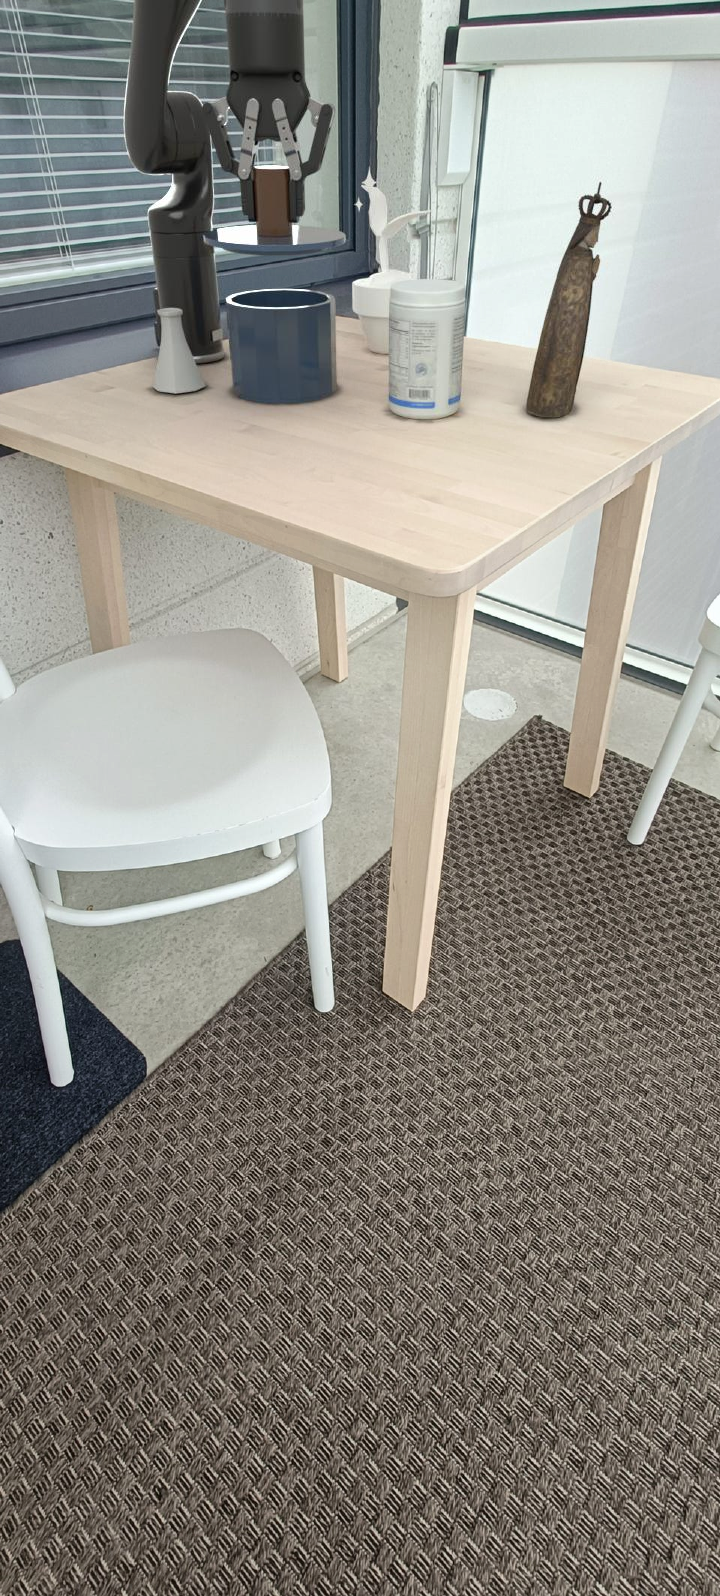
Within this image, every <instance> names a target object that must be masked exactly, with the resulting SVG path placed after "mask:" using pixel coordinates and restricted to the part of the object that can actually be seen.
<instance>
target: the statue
mask: <svg viewBox="0 0 720 1596" xmlns="http://www.w3.org/2000/svg"><path fill="white" fill-rule="evenodd" d="M601 187H602V182H601V181H600V182H599V183H598V187H597V191H596V193H594V194H593V195H591V194H584V195H583V196H581V197H580V199H579V200H578V204H577V206H578V211H579V215H580V218H579V220H578V223H577V226H576V227H575V230H574V232H573V234H572V236H571V238H570V239H569V243H568V245H567V247H566V249H565V252H564V254H563V256H562V259H561V262H560V264H559V267H558V271H557V273H556V278H555V281H554V284H553V287H552V291H551V295H550V298H549V302H548V306H547V309H546V313H545V316H544V320H543V323H542V324H543V325H542V329H541V332H540V337H539V340H538V341H539V342H538V346H537V351H536V353H535V359H534V363H533V367H532V368H533V369H532V373H531V378H530V382H529V387H528V393H527V398H526V402H525V403H526V404H525V407H526V409H525V410H526V411H527V412H528V413H530V414H531V415H533V416H537V417H540V418H549V419H550V418H551V419H552V418H553V419H554V418H562V417H563V416H564V417H565V416H567V415H569V413H572V410H573V406H574V404H575V396H576V393H577V386H578V384H579V383H578V382H579V379H580V374H581V370H582V366H583V360H584V355H585V350H586V343H587V336H588V330H589V322H590V317H591V306H592V296H593V285H594V281H595V279H596V278H597V273H598V272H599V268H600V265H601V259H600V254H598V253H597V254H596V255H595V257H594V253H593V249H594V248H595V246H596V244H597V243H599V233H600V227H601V221H602V220H605V218H606V217H609V215H610V213H611V209H612V203H611V202H610V200H609V199H608V200H607V198H605V197H602V195H601V193H600V192H601ZM585 200H588V203H587V209H586V212H585V211H584V201H585ZM599 204H601V208H600V210H599V212H598V214H594V213H593V211H594V207H595V205H599Z"/></svg>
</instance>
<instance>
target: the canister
mask: <svg viewBox="0 0 720 1596" xmlns="http://www.w3.org/2000/svg"><path fill="white" fill-rule="evenodd" d="M224 299H225V300H224V301H225V313H226V324H227V335H228V345H229V347H228V348H229V359H230V370H231V382H232V388H233V393H234V395H235V396H236V397H238V398H240V399H243V400H245V401H249V402H255V403H261V404H272V405H276V404H277V405H287V404H289V405H290V404H301V403H302V404H303V403H309V402H315V401H319V400H322V399H325V398H328V397H330V396H332V395H333V394H335V393H336V391H337V387H338V382H337V379H338V377H337V373H338V372H337V319H336V318H337V317H336V313H337V312H336V310H337V309H336V298H335V296H333V294H330V293H326V292H324V291H318V290H310V289H300V288H299V289H298V288H297V289H294V288H271V289H259V290H248V291H242V292H237V293H233V294H231V295H228V296H227V297H225V298H224Z"/></svg>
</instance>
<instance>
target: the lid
mask: <svg viewBox="0 0 720 1596" xmlns="http://www.w3.org/2000/svg"><path fill="white" fill-rule="evenodd" d="M253 180H254V198H255V215H256V222H255V224H254V225H253V224H252V225H240V226H239V225H238V226H229V227H222V228H216V229H212V230H211V231H208V232H206V233H204V235H203V238H204V242H205V243H206V244H208V245H210V246H214V248H219V249H222V250H224V251H226V252H230V253H234V254H241V255H250V256H251V255H252V256H298V255H310V254H315V253H320V252H324V251H326V250H328V249H330V248H336V247H339V246H341V245H342V246H343V245H344V244H345V243H346V239H347V238H346V237H347V236H346V234H345V232H343V231H340V230H337V229H333V228H327V227H320V226H311V225H293V224H294V223H291V221H290V196H289V181H291V175H290V171H289V167H288V165H287V166H286V165H284V166H283V165H256V166H255V167H253Z"/></svg>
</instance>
